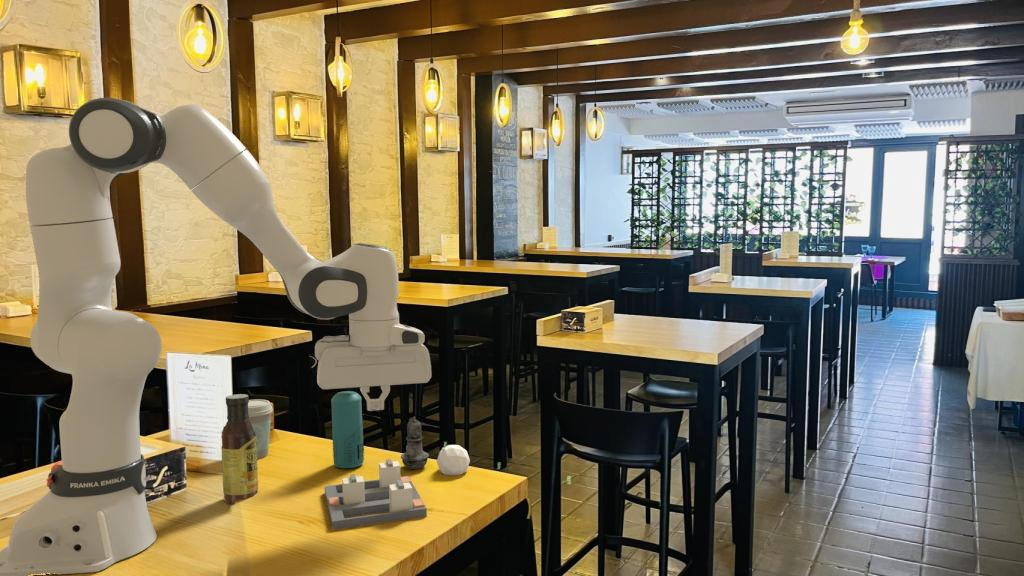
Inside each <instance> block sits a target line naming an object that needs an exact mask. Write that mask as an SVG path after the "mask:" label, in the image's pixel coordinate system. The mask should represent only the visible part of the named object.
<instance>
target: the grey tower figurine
mask: <svg viewBox="0 0 1024 576" xmlns="http://www.w3.org/2000/svg"><path fill="white" fill-rule="evenodd" d="M406 427H407V428H406V429H407V436H406V437H405V440H406V443H407V444H406V445H407V447H406V452H404V453H402V454H401V455H400V458H401V461H402V464H403V465H404V466H405V467H406V468H407V469H408V470H409V469H410V470H418V469H422V468H424V467H425V466H426V464H427V462H428V458H429V456H430V454H429V453H428V452H426V451H424V450H423V439H424V436H423V435H422V423H421V421H419V420H417V419H416V416H413V417H412V420H410V421H408V422H407V425H406Z"/></svg>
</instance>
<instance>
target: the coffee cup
mask: <svg viewBox="0 0 1024 576" xmlns="http://www.w3.org/2000/svg"><path fill="white" fill-rule="evenodd" d="M273 410H274V409H273V407H272V404H271V402H270V401H269V400H267V399H258V398H257V399H249V403H248V415H249V420H250V422H251V424H252V427H253V429H254V431H255V434H256V441H257V460H259V459H263V458H265V457H267V456H268V454H269V449H270V447H269V445H270V436H271V435H270V433H271V432H270V431H271V421H272V412H273Z"/></svg>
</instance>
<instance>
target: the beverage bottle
mask: <svg viewBox="0 0 1024 576" xmlns="http://www.w3.org/2000/svg"><path fill="white" fill-rule="evenodd" d="M354 388H356V387H353V388H338V389H337V390H346V391H340V392H337V393H335V395H333V397H332V398H331V399H330V402H331V420H332V421H331V422H332V426H331V427H332V429H331V430H332V431H331V434H332V435H331V436H332V456H333V457H332V458H333V463H334V464H333V465H334V466H335V467H336V468H339V469H351V468H357V467H360V466H362V465H363V464H364V460H365V442H364V438H365V437H364V428H363V413H362V412H363V410H362V409H363V408H362V406H363V405H362V396H361V395H360V394H359V393H358V392H356V391H354V390H353V391H352V390H351V389H354ZM350 390H351V391H350Z"/></svg>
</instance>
